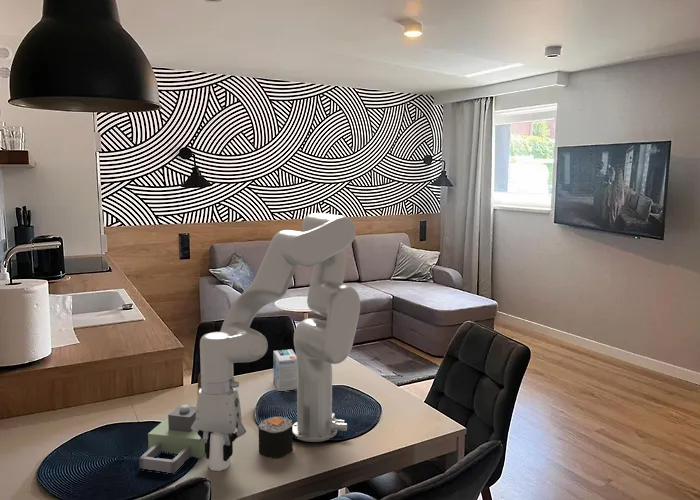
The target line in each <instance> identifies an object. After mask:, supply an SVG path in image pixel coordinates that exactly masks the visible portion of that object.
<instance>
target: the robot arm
mask: <svg viewBox="0 0 700 500" xmlns="http://www.w3.org/2000/svg"><path fill="white" fill-rule="evenodd" d="M301 224H302V225H301V229H302V231H301V230H300V231H299V230H294V229H293V230H292V229H283V230H280V231H278V232H276V233H275V234H274V236H273V237H272V239H271V240H270V243H269V245H268V248H267V250H266V252H265V254H264V257H263V259H262V261H261V264H260V266H259V268H258V270H257V273H256V275H255V277H254V278H253V281H252V283H251V284H250V285H249V286H248V287H247V288H246V289H245V290H244V291H243V292H242V293H241V294H240V295H239V296H238V297H237V298H236V299H235V300H234V302H232V304H231V306H230V308H229V309H228V312H227V313H226V316H225V318H224V320H223V323H222V325H221V328H220V330H219V331H213V332H209V333H205V334H203V335H202V336H201V337H200V340H199V355H200V361H199V362H200V372H201V389H200V390H199V393H198V392H197V399H196V406H195V407H196V419H195V421H194V423H193V424H192V426H191V429H192V430H194V431H195V432H196V433H198V435H199V436H200V437H201V438H202V439H203V442H204V443H205V456H206V457H205V459H206V460H208V459H209V454H210V435H211V433H212V432H216V433H223V434H224V439H225V445H224V446H223V460H224V461H227V460H228V459H229V458H230V459H231V457H232V456H233V452H234V451H233V449H234V448H233V445H234V444H233V443H234V441H236V440H237V439H238V438H240V437H242V436H244V435H245V434H246V433H247V430H246V427H245V426H244V425H243V423H242V411H241V410H242V409H241V401H240V400H241V399H240V395H239V391H238V388H239V387H240V386H239V385H240V383H239V381H236V380H235V377H234V364H235V363H236V364H237V363H252V362H255V361H258V360H260V359H261V358H263V357H264V356H265V355H266V353H267V351H268V348H269V347H268V346H269V345H268V340H267V338H266V336H265V335H263V333H261V332H259V331H257V330H256V329H253V328H251V327H250V326H251V324H252V322H253V319H255V317H256V315H257V313H258V312H259V311H261V309H262V308H264V307H265V306H267V305H269V304H271V303H273V302H276V301H278V300H280V299H282V298H284V297H285V295H286V294H287V291H288V288H289V287H290V284H291V282H292V280H293V277H294V275H295V272H296V270H297V268H298V267H301V268H309V267H313V270H312V274H311V279H310V283H309V288H308V294H307V298H306V303H307V307H308V308H309V310H310V311H311V312H313V313H315V314H317V315H319V316H322V317H325V318H326V321H325V320H321V319H319V318H315V317H313V318H312V317H310V318H305V319H303V320H301V321H300V322H299V323H298V324H297V325H296V327H295V329H294V332H293V346H294V351H295V352H294V353H295V355H296V358H297V390H296V409H297V411H296V420H297V421H296V422H294V423H293V429H292V433H293V434H294V435H295V436H296V437H297V438H296V437H295V438H296V439H297V440H300V441H302V442H308V443H311V442H312V443H320V442H324V441H329V440H330V438H331V439H333V438H334V437H335V436H336V435H337V433H338V431H345V432H346V431H348V423H347V422H346V420H345V419H337V418H336V417H335V415H336V414H335V413H334V412H333V366H332V365H338V364H341V363H343V362H344V361H346V359H347V358H348V356H350V353H351V351H352V348H353V345H354V340H355V335H356V331H357V326H358V322H359V317H360V313H361V300H360V295H359V293H358V292H357V290H356V288H353V287H352V286H351V285H347V284H344V279H345V273H346V265H347V258H346V252H345V249H347V248H348V247H350V246H351V244H352V243H353V241H354V240H355V238H356V232H357V231H356V230H357V229H356V226H355V223H354V222H353V220H352V219H351V218H349V217H347V216H345V215H340V214H331V213H325V212H314V213H310V214H308V215H306V216H305V218H304V219H303V221H302V223H301Z"/></svg>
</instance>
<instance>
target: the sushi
mask: <svg viewBox="0 0 700 500" xmlns="http://www.w3.org/2000/svg"><path fill="white" fill-rule="evenodd" d="M293 425H294V423H293V420H292V419H289V418H288V417H286V416H285V417H283V416H280V415H279V416H273V417H268V418H266V419H263V420H262V421H260V423H259V425H257V427H258V453H259V454H260V455H261V456H264V457H266V458H270V459H280V458H283V457H285V456H287V455H288V454H290V453H291V452H292V451H293V449H294V448H293V435H292V429H293Z"/></svg>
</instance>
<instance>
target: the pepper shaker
mask: <svg viewBox="0 0 700 500" xmlns="http://www.w3.org/2000/svg"><path fill="white" fill-rule="evenodd" d="M224 445H225V439H224V434H223V433H216V432H212V433H211V435H210V454H209V459H207V467H208V468H209V469H210V470H211V471H217V472H221V471H223V470H227V469H229V466H231V464H232V463H231V457H230V458H229V459H228V460H227V461H224V460H223V446H224Z"/></svg>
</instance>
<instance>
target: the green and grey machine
mask: <svg viewBox="0 0 700 500" xmlns="http://www.w3.org/2000/svg"><path fill="white" fill-rule="evenodd" d="M195 419H196V406H192V405H191V406H190V405H189V404H183V405H178V406H177V407H176V408H175V409H173V411H171V412H170V413H169V414H168V415H167V417H166V418H165V419H164V420H163V421H162V422H160V423H159V424H157V426H155V427H154V428H152V429H151V431H150V432H148V433H147V440H148V441H147V442H148V443H147V444H148V446H147V448H148V449H147V450H146V451H145V452H144V453H143V454H142V455H141V456H140V457H139V458H138V460H139V462H138V463H139V469H140V468H142V469H148V470H156V471H162V472H167V473H166V474H168V473H173V474H172V475H176V473H177V472H178V471H179V470H180V469H181V468H182V467H183V466H184V465H185V464H184V462H185V461H186V460H187V459H188V458H189V457H190V456H195V457H196V458H195V459H202V457H203V456H204V455H206V453H205V443H204V442H203V439H202V438H201V437H200V436H199V435H198V433H196V432H195V431H194V430H192V429H191V426H192V424H193V423H194V421H195ZM161 451H164V452H170V453H175V454H178V455H177V456H176V455H175V457H173V458H172V459H169V458H160V457H157V458H154V457H155V456H156V455H157V454H159V452H161ZM183 464H184V465H183ZM182 465H183V466H182ZM181 466H182V467H181ZM180 467H181V468H180ZM179 468H180V469H179ZM178 469H179V470H178ZM177 470H178V471H177ZM176 471H177V472H176ZM175 472H176V473H175Z"/></svg>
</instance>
